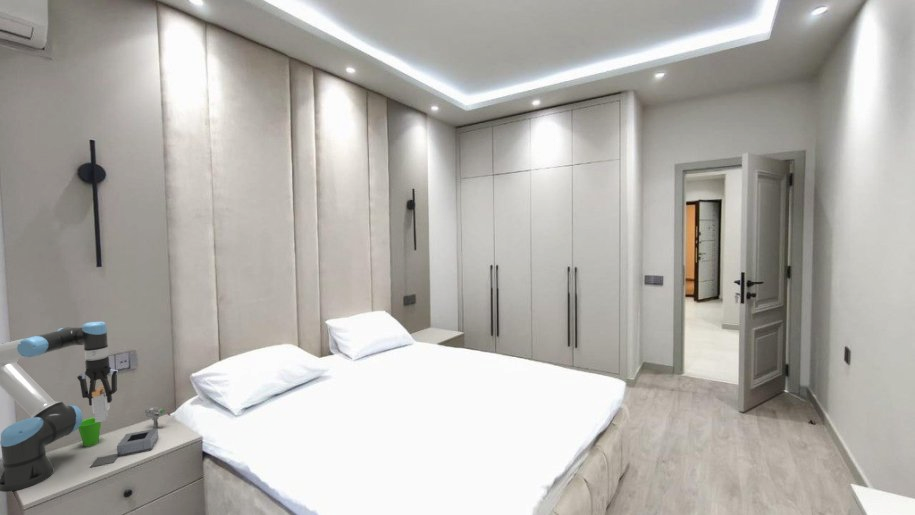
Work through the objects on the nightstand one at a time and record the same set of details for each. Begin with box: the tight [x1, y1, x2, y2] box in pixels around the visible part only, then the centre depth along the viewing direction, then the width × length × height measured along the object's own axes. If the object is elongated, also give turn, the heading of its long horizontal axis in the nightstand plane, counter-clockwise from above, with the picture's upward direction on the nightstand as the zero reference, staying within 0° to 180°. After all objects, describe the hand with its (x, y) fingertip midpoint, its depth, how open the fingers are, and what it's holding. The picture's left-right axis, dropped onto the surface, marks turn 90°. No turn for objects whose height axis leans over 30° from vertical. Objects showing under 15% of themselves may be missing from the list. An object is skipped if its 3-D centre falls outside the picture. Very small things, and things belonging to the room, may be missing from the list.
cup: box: [77, 416, 102, 447], centre depth 187 cm, size 9×9×11 cm
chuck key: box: [92, 385, 110, 423], centre depth 171 cm, size 4×8×14 cm, turn 25°
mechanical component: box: [144, 406, 165, 429], centre depth 202 cm, size 3×10×10 cm, turn 78°
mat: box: [89, 453, 119, 469], centre depth 173 cm, size 8×8×1 cm
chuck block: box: [116, 427, 159, 458], centre depth 183 cm, size 12×12×5 cm
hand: (101, 410), depth 172 cm, fingers closed on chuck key, 3 cm apart
